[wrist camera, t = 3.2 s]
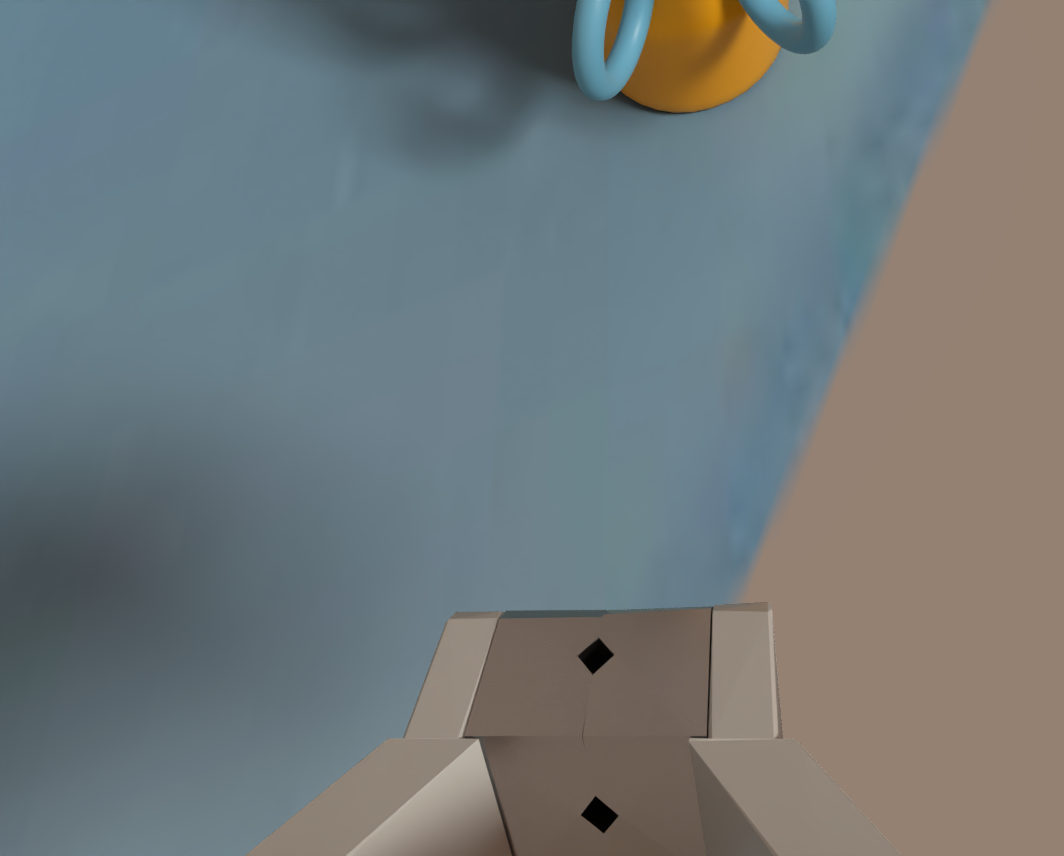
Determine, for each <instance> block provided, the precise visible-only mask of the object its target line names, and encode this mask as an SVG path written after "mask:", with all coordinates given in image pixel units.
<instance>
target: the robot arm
mask: <svg viewBox="0 0 1064 856" xmlns="http://www.w3.org/2000/svg"><path fill="white" fill-rule="evenodd" d="M781 721H782V720H781V709H780V697H779V685H778V674H777V663H776V652H775V640H774V628H773V616H772V608H771V606H770V604H769V603H768V602H761V603H741V604H723V605H714V606H709V607H682V608H655V609H628V610H608V611H607V610H539V611H506V612H456V613H455V614H454V615H453V616H452V617H450V618H449V619H448V621H447V622H446V624H445V626H444V629H443V632H442V634H441V637H440V640H439V642H438V645H437V648H436V651H435V653H434V656H433V659H432V661H431V664H430V667H429V669H428V672H427V675H426V677H425V680H424V683H423V686H422V688H421V691H420V694H419V696H418V699H417V702H416V704H415V707H414V710H413V712H412V715H411V718H410V720H409V723H408V726H407V729H406V731H405V734H404V737H403V739H387V740H386V741H384V742H383V743H382V744H381V745H380V746H378V747H377V748H376V749H375V750H373V751H372V752H371V753H370V754H369V755H367V756H366V757H365V758H364V759H362V760H361V761H360V762H359V763H358V764H356V765H355V766H354V767H353V768H351V769H350V770H349V771H348V772H347V773H345V774H344V775H343V776H342V777H340V778H339V779H338V780H337V781H336V782H334V783H333V784H332V785H331V786H329V787H328V788H327V789H326V790H325V791H323V792H322V793H321V794H320V795H318V796H317V797H316V798H315V799H314V800H312V801H311V802H310V803H309V804H307V805H306V806H305V807H304V808H303V809H301V810H300V811H299V812H298V813H296V814H295V815H294V816H293V817H292V818H290V819H289V820H288V821H287V822H285V823H284V824H283V825H282V826H281V827H279V828H278V829H277V830H276V831H274V832H273V833H272V834H271V835H270V836H268V837H267V838H266V839H265V840H263V841H262V842H261V843H260V844H259V845H257V846H256V847H255V848H254V849H252V850H251V851H250V852H249V853H248V854H246V855H245V856H902V855H901V854H900V853H899V852H898V850H896V848H895V847H894V846H893V845H892V844H891V843H890V842H889V841H888V840H887V838H886V837H885V836H884V835H883V834H882V833H881V832H880V831H879V830H878V829H877V827H876V826H875V825H874V824H873V823H872V822H871V821H870V820H869V819H868V817H867V816H866V815H865V814H864V813H863V812H862V811H861V810H860V809H859V808H858V807H857V806H856V804H855V803H854V802H853V801H852V800H851V799H850V798H849V797H848V796H847V794H846V793H845V792H844V791H843V790H842V789H841V788H840V787H839V786H838V784H836V782H835V781H834V780H833V779H832V778H831V777H830V776H829V775H828V773H826V772H825V770H824V769H823V768H822V767H821V766H820V765H819V764H818V762H816V760H815V759H814V758H813V757H812V756H811V755H810V754H809V753H808V752H807V750H806V749H805V748H804V747H803V746H802V745H801V744H800V743H799V742H798V741H797V740H796V739H783V731H782V722H781Z"/></svg>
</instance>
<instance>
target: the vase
mask: <svg viewBox="0 0 1064 856" xmlns="http://www.w3.org/2000/svg"><path fill="white" fill-rule="evenodd" d="M799 2H800V6H801V10H802V20H801V19H799V18H797V17H796V16H794V15H793V14H791V13H790V12H789V11H788V4H789V0H577V4H576V9H575V15H574V22H573V32H572V63H573V70H574V75H575V78H576V81H577V84H578V86H579V88H580V90H581V91H582V92H583V93H584V94H585V95H586V96H587V97H588V98H590V99H592V100H595V101H605V100H608V99H610V98H612V97H614V96H615V95H616V94H618V93H619V92H620V91H621V92H622V93H624V94H625V95H626V96H628V97H629V98H631V99H633V100H634V101H636V102H638V103H639V104H641V105H644V106H647V107H650V108H653V109H655V110H659V111H668V112H673V113H682V112H697V111H701V110H706V109H711V108H714V107H717V106H719V105H721V104H724V103H727V102H729V101H731V100H733V99H735V98H736V97H738V96H739V95H741V94H743V93H744V92H746V91H747V90H748V89H750V88H751V87H752V86H753V85H754V84H755V83H756V82H758V81H759V80H760V79H761V78H762V76H763V75H764V74H765V73H766V71H767V70H768V69H769V68H770V66H771V65H772V63H773V62H774V60H775V59H776V57H777V55H778V53H779V51H780V49H781V47H782V48H784V49H786V50H788V51H791V52H794V53H798V54H810V53H813V52H816V51H818V50H820V49H821V48H822V47H824V46H825V45H826V44H827V42H828V41H829V40H830V38H831V36H832V34H833V32H834V29H835V24H836V0H799Z"/></svg>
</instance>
